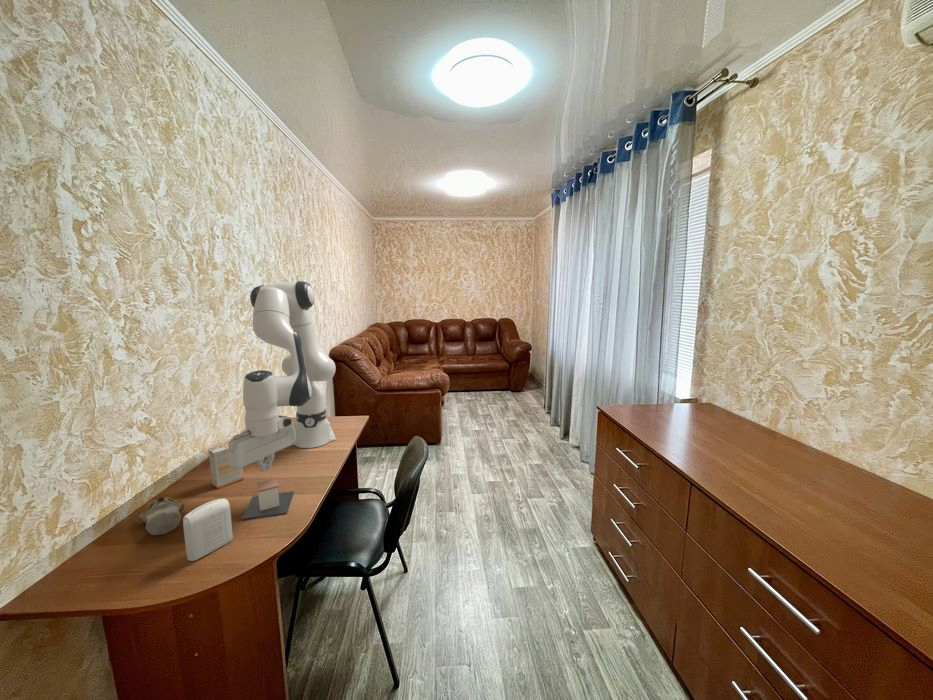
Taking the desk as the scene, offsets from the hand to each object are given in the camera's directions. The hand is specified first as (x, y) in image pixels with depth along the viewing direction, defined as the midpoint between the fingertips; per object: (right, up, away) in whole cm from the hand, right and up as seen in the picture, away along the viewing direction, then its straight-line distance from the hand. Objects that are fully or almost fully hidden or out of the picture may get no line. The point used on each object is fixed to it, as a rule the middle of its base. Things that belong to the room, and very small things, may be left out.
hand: (265, 469), depth 111 cm
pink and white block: (0, -11, +2) cm, 12 cm away
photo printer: (-5, -15, -17) cm, 23 cm away
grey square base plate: (0, -12, +2) cm, 12 cm away
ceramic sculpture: (-25, -14, -8) cm, 29 cm away
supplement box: (-22, -10, +15) cm, 28 cm away
